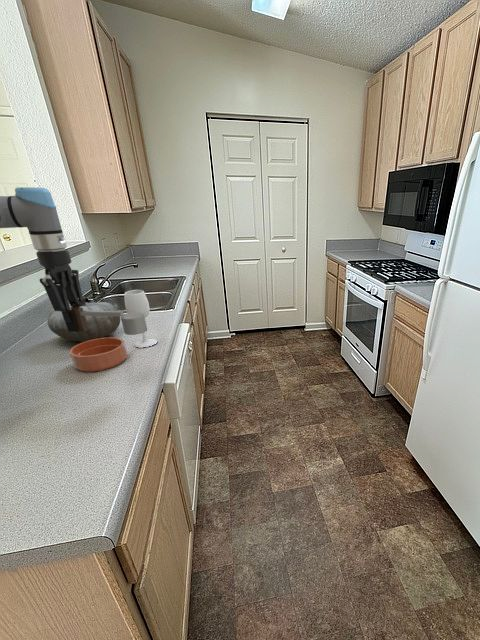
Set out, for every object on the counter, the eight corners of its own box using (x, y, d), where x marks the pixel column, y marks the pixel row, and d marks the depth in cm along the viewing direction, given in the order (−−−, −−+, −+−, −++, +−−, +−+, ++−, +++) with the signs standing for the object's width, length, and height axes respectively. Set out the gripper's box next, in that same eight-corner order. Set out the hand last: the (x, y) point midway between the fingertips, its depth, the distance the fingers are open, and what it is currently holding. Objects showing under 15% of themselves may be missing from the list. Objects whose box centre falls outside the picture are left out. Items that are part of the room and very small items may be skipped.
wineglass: (134, 349, 127) (120, 296, 118) (134, 341, 134) (121, 290, 125) (158, 345, 130) (147, 293, 121) (157, 338, 138) (146, 288, 128)
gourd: (93, 346, 124) (76, 300, 119) (40, 351, 130) (22, 308, 124) (136, 329, 147) (123, 290, 142) (90, 334, 153) (76, 297, 147)
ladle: (150, 327, 105) (146, 306, 102) (141, 335, 99) (136, 312, 96) (77, 326, 105) (70, 305, 102) (63, 334, 100) (56, 311, 97)
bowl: (64, 372, 111) (58, 356, 108) (92, 352, 126) (87, 337, 123) (113, 372, 111) (108, 356, 108) (135, 351, 126) (132, 337, 123)
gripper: (45, 254, 85) (72, 339, 95) (82, 246, 99) (103, 321, 109) (16, 254, 85) (47, 338, 95) (57, 246, 99) (80, 320, 109)
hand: (77, 329), depth 102 cm, fingers closed on ladle, 2 cm apart
